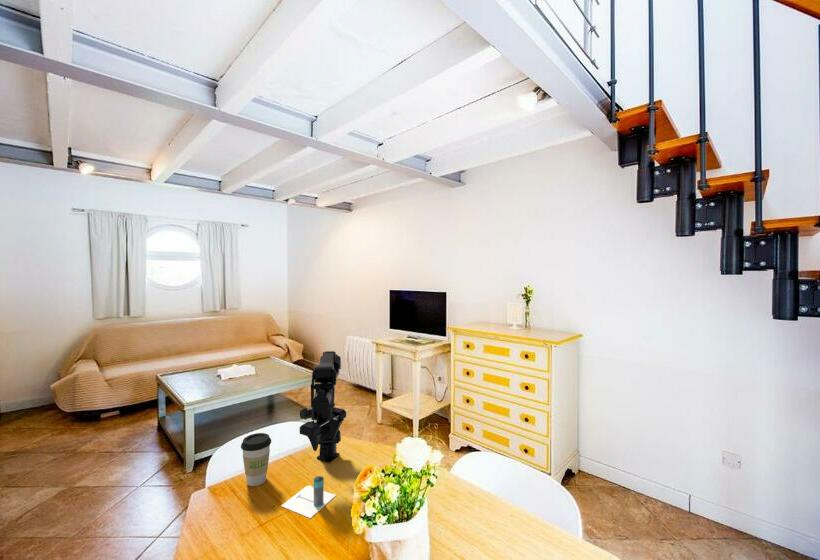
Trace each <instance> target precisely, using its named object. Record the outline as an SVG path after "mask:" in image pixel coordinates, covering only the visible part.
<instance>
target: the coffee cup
mask: <svg viewBox="0 0 820 560" xmlns="http://www.w3.org/2000/svg"><path fill="white" fill-rule="evenodd" d="M271 444H272V439H271V437H270V435H269V433H266V432H265V433H264V432H257V433H252V434H250V435H247V436H246V437H244V438H243V440H242V442H241V444H240V449H241V450H242V461H243V468H244V472H245V479H246V484H247V486H249V487H256V486H260V485H262V484H264V483H265V482H266V481H267V474H268V469H269V468H268V467H269V459H270V446H271Z"/></svg>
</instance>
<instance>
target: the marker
mask: <svg viewBox="0 0 820 560" xmlns="http://www.w3.org/2000/svg"><path fill="white" fill-rule="evenodd" d="M324 481H325V478H324V477H323V476H320V475H319V476H315V477H314V478H313V487H314V506H315V507H321V506H322V505H323V504H324V491H325V490H324V489H325V488H324V487H325V486H324V483H325V482H324Z"/></svg>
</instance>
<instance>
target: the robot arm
mask: <svg viewBox="0 0 820 560" xmlns="http://www.w3.org/2000/svg"><path fill="white" fill-rule="evenodd" d="M341 369H342V358H341V356H339V355H338V354H336V351H334V350H330V351H329V350H328V351H323V352H322V356H320V359H319V363H318V364H316V365H315V366H314V369H312V374H311V384H310V385H311V386H310V390H315V393H314V395H313V398H312V401H311V404H310V405H311V406H310V407H308V408H307V407H305V408H302V409H299V418H300V419H301V420H304V421H306V420H308V419H311V421H307V422H305V423H303V424H301V425H300V426H299V435H302V436H305V437H307V438H308V439H309V442H310V445H311V447H312V450H313V451H314V452H317V451H318V448H319V454H318V456H316V459H318V460H321V461H324V462H328V463H331V462H332V461H333V460H335V459H336V458H338V457H339V456H340V453H339V452H337V444H338V445H339V443H340V442H341V439H342V436H341V430H340V428H341V425H342V423H344V422H343V421H344V420H345V418H347V411H346V410H345V409H344V408H340V407H335V405H336V403H335V398H336V397H335V393H336V386H337V378H338V376H339V375H340V370H341ZM312 421H314V422H312Z"/></svg>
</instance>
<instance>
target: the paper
mask: <svg viewBox="0 0 820 560" xmlns="http://www.w3.org/2000/svg"><path fill="white" fill-rule="evenodd" d="M335 497H337V495H336V494H334V493H331V492H329V491H328V492H327V490H326V491H325V490H324V504H323V505H322V506H321V507H315V506H314V486H312V485H306V486H305V487H303V488H302V489H300V491H298V492H297V493H296V494H295V495H293V496H292V497H290V498H289V499H288V500H287V501H285V502H283V504H281V505H280V506H281V508H284V509H286V510H289V511H291V512H294V513H295V514H298V515H301V516H303V517H306V518H308V519H312V518H313V517H314V516H316V514H317V513H319V512H320V511H321V510H322V509H323V508H325V506H326V505H327V504H329V503H330V502H331V501H332V500H333V499H334V498H335Z"/></svg>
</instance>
